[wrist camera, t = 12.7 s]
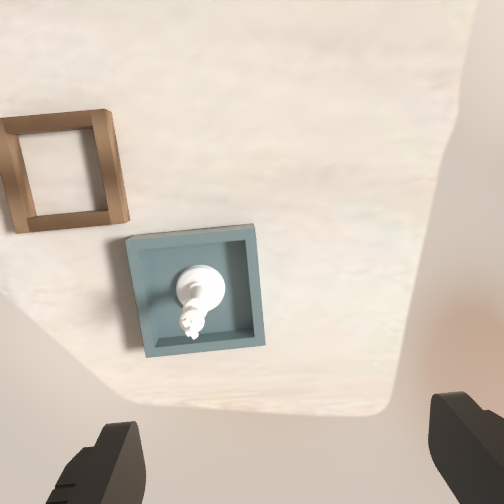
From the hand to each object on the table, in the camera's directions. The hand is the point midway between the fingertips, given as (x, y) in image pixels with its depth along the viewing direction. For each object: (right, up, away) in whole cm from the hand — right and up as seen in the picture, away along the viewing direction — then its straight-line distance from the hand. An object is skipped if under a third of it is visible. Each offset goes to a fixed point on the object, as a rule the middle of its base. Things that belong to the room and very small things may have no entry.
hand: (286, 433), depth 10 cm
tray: (-6, +1, +27) cm, 28 cm away
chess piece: (-6, +1, +27) cm, 28 cm away
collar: (-18, +12, +24) cm, 33 cm away
